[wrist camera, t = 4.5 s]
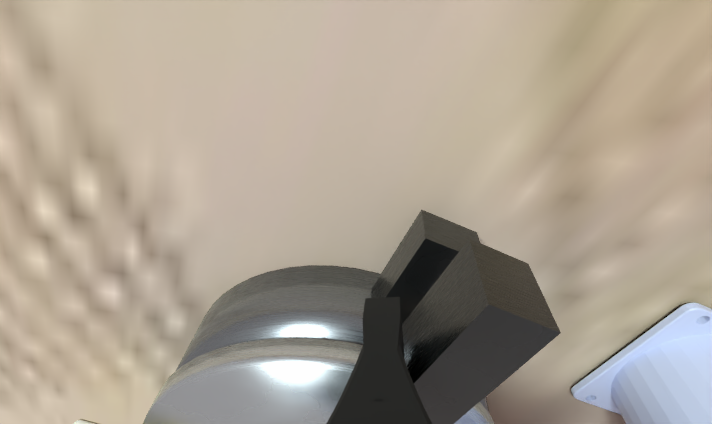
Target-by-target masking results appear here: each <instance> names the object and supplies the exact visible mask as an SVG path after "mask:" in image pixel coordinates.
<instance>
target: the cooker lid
mask: <svg viewBox="0 0 712 424" xmlns="http://www.w3.org/2000/svg"><path fill="white" fill-rule="evenodd" d="M402 331H403V342H404V360H405V363H406V366H407V368H408V371H409V373H410V376H411V378H412V381H413V383H414V385H415V388H416V390H417V392H418V395H419V397H420V399H421V401H422V404H423V406H424V408H425V410H426V412H427V414H428V416H429V418H430V420H431V422H432V424H495V423H494V421H493V419H492V417H491V415H490V414H489V413H488V411H487V410H486V409H485V408H484V406H483V405H482V404H481V403H480V401H481V400H482V399H483V398H485V397H486V396H487V395H488V394H489V393H490V392H492V391H493V390H494V389H495V388H496V387H498V386H499V385H500V384H501V383H502V382H503V381H505V380H506V379H507V378H508V377H509V376H510V375H512V374H513V373H514V372H515V371H516V370H518V369H519V368H520V367H521V366H522V365H523V364H525V363H526V362H527V361H528V360H529V359H530V358H532V357H533V356H534V355H535V354H536V353H538V352H539V351H540V350H541V349H542V348H543V347H545V346H546V345H547V344H548V343H549V342H550V341H552V340H553V339H554V338H555V337H556V336H558V335H559V334H560V330H559V328H558V326H557V324H556V322H555V320H554V318H553V316H552V313H551V311H550V309H549V307H548V305H547V303H546V301H545V299H544V296H543V294H542V292H541V290H540V288H539V286H538V284H537V282H536V279H535V277H534V275H533V273H532V271H531V269H530V267H529V265H528V264H527V263H525V262H523V261H520V260H518V259H516V258H513V257H511V256H509V255H506V254H504V253H502V252H499V251H497V250H495V249H492V248H490V247H487V246H485V245H483V244H480V243H478V242H476V241H473V240H471V239H469V240H468V241H467V242H466V244H465V245H464V246H463V247H462V249H461V250H460V251H459V252H458V254H457V255H456V256H455V258H454V259H453V260H452V261H451V263H450V264H449V265H448V266H447V268H446V269H445V270H444V272H443V273H442V274H441V275H440V277H439V278H438V279H437V280H436V282H435V283H434V284H433V286H432V287H431V288H430V289H429V291H428V292H427V293H426V294H425V296H424V297H423V298H422V300H421V301H420V302H419V303H418V305H417V306H416V307H415V308H414V310H413V311H412V312H411V314H410V315H409V316H408V317H407V319H406V320H405V321H404V322H403V324H402ZM362 346H363V345H359V344H355V343H350V342H342V341H334V340H326V339H312V338H278V339H263V340H256V341H250V342H243V343H238V344H234V345H230V346H226V347H222V348H219V349H216V350H213V351H211V352H208V353H206V354H203V355H201V356H198V357H196V358H195V359H193V360H191V361H190V362H188V363H186V364H184V365H183V366H181V367H180V368H179V369H178V370H177V371H176V372H174V373H173V374H172V375H171V376H170V377H169V378H168V380H167V381H166V382H165V384H164V385H163V386H162V388H161V390H160V391H159V393H158V395H157V397H156V399H155V401H154V402H153V404H152V406H151V408H150V410H149V412H148V413H147V415H146V418H145V420H144V423H143V424H326V423H327V422H328V420H329V418H330V416H331V414H332V412H333V411H334V409H335V407H336V405H337V403H338V401H339V399H340V397H341V395H342V393H343V391H344V389H345V386H346V384H347V382H348V380H349V378H350V375H351V373H352V371H353V369H354V366H355V364H356V362H357V359H358V357H359V354H360V351H361V349H362Z"/></svg>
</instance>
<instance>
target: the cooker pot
mask: <svg viewBox="0 0 712 424" xmlns="http://www.w3.org/2000/svg"><path fill="white" fill-rule="evenodd" d="M469 239H471V240H473V241H476V242H478V243H480V241H479V238H478V235H477V232H474V231H472V230H469V229H467V228H465V227H462V226H460V225H457V224H455V223H452V222H450V221H448V220H445V219H443V218H440V217H438V216H436V215H433V214H431V213H428V212H426V211H423V210H421V212H420V213H419V215H418V216H417V218H416V220H415V221H414V223H413V224H412V226H411V227H410V229H409V231H408V232H407V234H406V235H405V237H404V239H403V240H402V242H401V243H400V245H399V246H398V248H397V250H396V251H395V253H394V254H393V256H392V258H391V259H390V261H389V262H388V264H387V265H386V267H385V269H384V270H383V272H382V273H381V274H378V273H375V272H370V271H365V270H361V269H356V268H348V267H339V266H301V267H291V268H285V269H280V270H275V271H271V272H267V273H264V274H261V275H258V276H255V277H252V278H250V279H248V280H246V281H244V282H242V283H240V284H238V285H236V286H234V287H233V288H232V289H230V290H229V291H227V292H226V293H224V294H223V295H222V296H221V297H220V298H219V299H218V300H217V301H216V302H215V303H214V304H213V305H212V306H211V308H210V309H209V311H208V312H207V314H206V315H205V317H204V319H203V321H202V323H201V325H200V326H199V328H198V330H197V332H196V334H195V336H194V338H193V340H192V341H191V343H190V345H189V347H188V349H187V351H186V353H185V355H184V356H183V358H182V360H181V362H180V364H179V366H178V368H177V370H178V369H179V368H180V367H181V366H183V365H184V364H186V363H188V362H190V361H191V360H193V359H195V358H196V357H198V356H201V355H203V354H206V353H208V352H211V351H213V350H216V349H219V348H222V347H226V346H230V345H234V344H238V343H243V342H250V341H256V340H263V339H278V338H312V339H326V340H334V341H342V342H350V343H355V344H359V345H363V312H364V304H365V298H387V297H400V307H401V319H402V324H403V322H404V321H405V320H406V319H407V317H408V316H409V315H410V314H411V312H412V311H413V310H414V308H415V307H416V306H417V305H418V303H419V302H420V301H421V300H422V298H423V297H424V296H425V294H426V293H427V292H428V291H429V289H430V288H431V287H432V286H433V284H434V283H435V282H436V280H437V279H438V278H439V277H440V275H441V274H442V273H443V272H444V270H445V269H446V268H447V266H448V265H449V264H450V263H451V261H452V260H453V259H454V258H455V256H456V255H457V254H458V252H459V251H460V250H461V249H462V247H463V246H464V245H465V244H466V242H467V241H468V240H469ZM177 370H176V371H177ZM176 371H175V372H176ZM480 403H481V404H482V405H483V406H484V408H485V409H486V410H487V411H488V413H489V410H488V406H487V401H486V397H485V398H483V399H482V400H481V401H480Z"/></svg>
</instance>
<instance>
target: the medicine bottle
mask: <svg viewBox="0 0 712 424" xmlns="http://www.w3.org/2000/svg"><path fill="white" fill-rule="evenodd" d="M74 424H95V423H91V422H87V421H84V420H78V421H76V422H75V423H74Z"/></svg>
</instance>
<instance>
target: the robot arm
mask: <svg viewBox="0 0 712 424" xmlns="http://www.w3.org/2000/svg"><path fill="white" fill-rule="evenodd" d="M571 392H572V394H573V396H574V398H576V399H578V400H581V401H583V402H586V403H589V404H592V405H595V406H598V407H601V408H603V409H606V410H609V411H612V412H615V413H618V414H621V415H622V417H623V419H624V421H625V423H626V424H712V309H710V308H708V307H705V306H703V305H701V304H698V303H687V304H684V305H682V306H681V307H679V308H678V309H677V310H675V311H674V312H673V313H671V314H670V315H668V316H667V317H666V318H664V319H663V320H662V321H660V322H659V323H658V324H656V325H655V326H654V327H652V328H651V329H650V330H648V331H647V332H646V333H644V334H643V335H642V336H640V337H639V338H638V339H636V340H635V341H634V342H632V343H631V344H630V345H628V346H627V347H626V348H624V349H623V350H622V351H620V352H619V353H617V354H616V355H615V356H613V357H612V358H611V359H609V360H608V361H607V362H605V363H604V364H603V365H601V366H600V367H599V368H597V369H596V370H595V371H593V372H592V373H591V374H589V375H588V376H587V377H585V378H584V379H583V380H581V381H580V382H579V383H577V384H576V385H575V386H573V387H572V389H571ZM326 424H432V422H431V420H430V418H429V416H428V414H427V412H426V410H425V408H424V406H423V404H422V401H421V399H420V397H419V395H418V392H417V390H416V388H415V385H414V383H413V381H412V378H411V376H410V373H409V371H408V368H407V366H406V363H405V360H404V342H403V331H402V319H401V307H400V297H387V298H365V304H364V312H363V346H362V349H361V351H360V354H359V357H358V359H357V362H356V364H355V366H354V369H353V371H352V373H351V375H350V378H349V380H348V382H347V384H346V386H345V389H344V391H343V393H342V395H341V397H340V399H339V401H338V403H337V405H336V407H335V409H334V411H333V412H332V414H331V416H330V418H329V420H328V422H327V423H326Z"/></svg>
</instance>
